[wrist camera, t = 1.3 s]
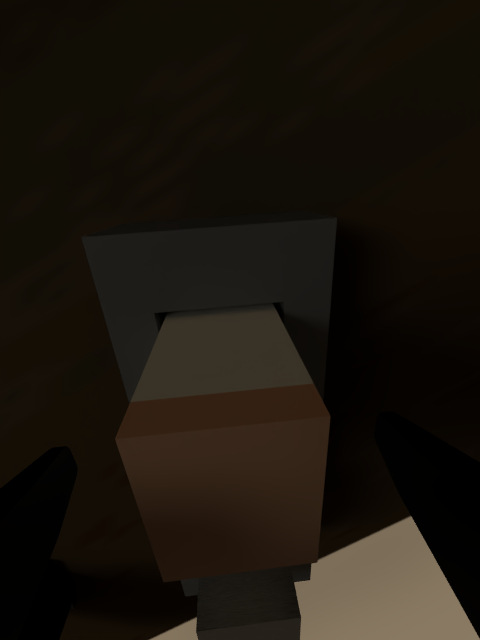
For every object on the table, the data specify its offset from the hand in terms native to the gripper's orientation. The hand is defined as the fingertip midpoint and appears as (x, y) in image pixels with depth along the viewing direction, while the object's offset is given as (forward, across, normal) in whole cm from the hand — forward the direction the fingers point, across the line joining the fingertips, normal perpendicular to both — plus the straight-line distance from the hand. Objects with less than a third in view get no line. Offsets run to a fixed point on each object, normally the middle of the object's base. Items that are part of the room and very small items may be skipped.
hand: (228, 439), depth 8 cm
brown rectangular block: (+7, 0, 0) cm, 7 cm away
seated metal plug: (+7, 0, +11) cm, 13 cm away
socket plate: (+7, 0, +5) cm, 9 cm away
